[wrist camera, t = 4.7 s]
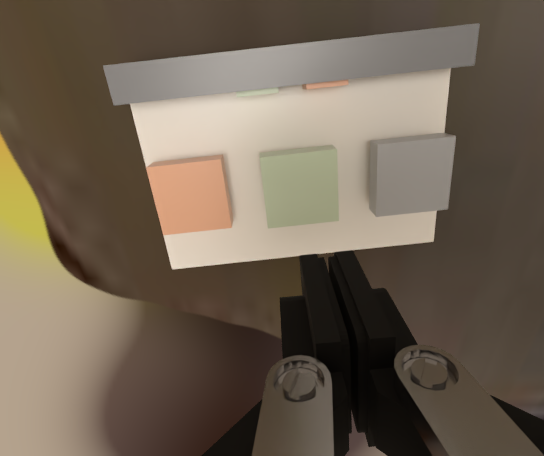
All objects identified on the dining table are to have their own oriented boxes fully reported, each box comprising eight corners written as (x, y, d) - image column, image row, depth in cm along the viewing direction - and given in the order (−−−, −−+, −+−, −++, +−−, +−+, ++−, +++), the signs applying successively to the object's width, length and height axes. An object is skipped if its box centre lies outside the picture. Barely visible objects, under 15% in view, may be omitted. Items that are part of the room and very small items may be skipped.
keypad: (434, 35, 22) (479, 23, 18) (419, 228, 28) (450, 257, 23) (135, 69, 22) (102, 65, 18) (179, 254, 28) (163, 287, 23)
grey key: (443, 132, 21) (455, 136, 20) (436, 201, 23) (447, 209, 22) (370, 140, 21) (377, 144, 20) (369, 208, 23) (376, 216, 22)
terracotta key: (223, 154, 22) (220, 159, 21) (233, 219, 24) (231, 227, 22) (153, 162, 22) (146, 167, 21) (168, 226, 24) (163, 235, 22)
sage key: (332, 144, 21) (337, 149, 20) (334, 212, 23) (339, 221, 22) (259, 152, 21) (259, 157, 20) (267, 219, 23) (267, 228, 22)
